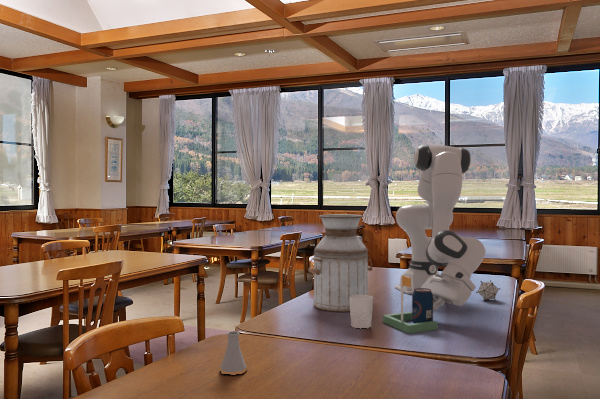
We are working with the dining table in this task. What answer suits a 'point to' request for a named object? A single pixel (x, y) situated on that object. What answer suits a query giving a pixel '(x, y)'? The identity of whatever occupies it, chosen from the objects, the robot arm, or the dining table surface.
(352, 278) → the milk can
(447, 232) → the robot arm
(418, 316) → the soda can
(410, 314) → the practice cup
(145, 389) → the dining table surface
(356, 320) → the white cup
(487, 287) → the game die
